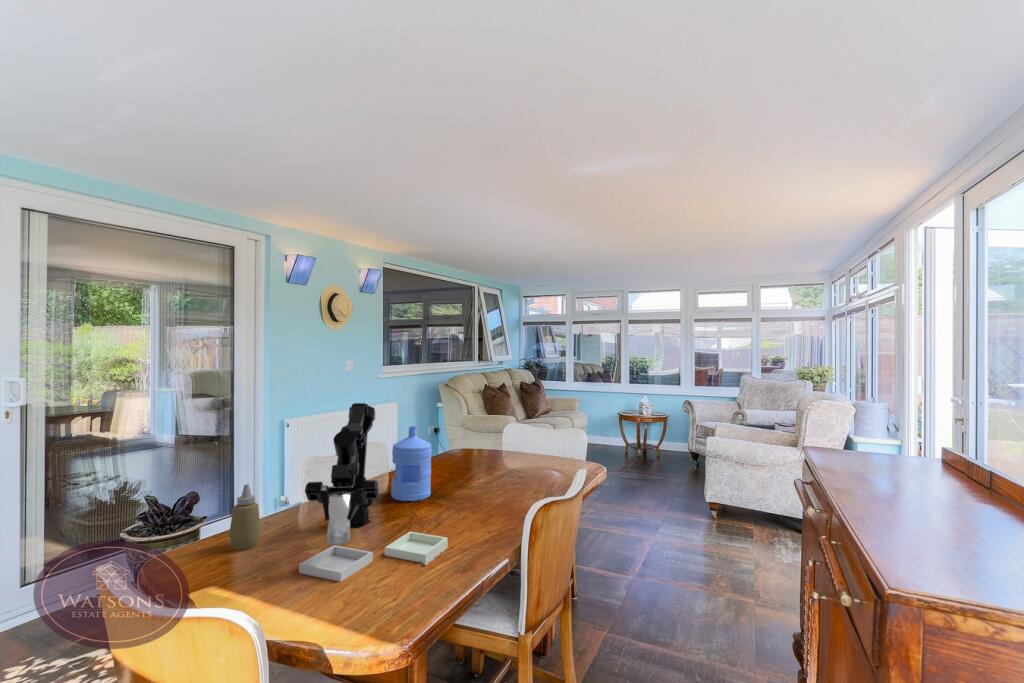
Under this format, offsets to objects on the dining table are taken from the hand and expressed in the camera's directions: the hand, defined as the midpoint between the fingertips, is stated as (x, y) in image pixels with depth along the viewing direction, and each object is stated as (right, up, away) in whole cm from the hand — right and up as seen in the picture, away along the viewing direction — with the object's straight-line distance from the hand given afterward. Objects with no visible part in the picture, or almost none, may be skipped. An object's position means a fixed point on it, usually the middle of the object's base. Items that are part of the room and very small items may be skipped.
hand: (338, 519), depth 123 cm
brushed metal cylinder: (0, -6, +1) cm, 6 cm away
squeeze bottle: (-33, -14, +14) cm, 38 cm away
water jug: (+5, -16, +67) cm, 69 cm away
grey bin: (-1, -13, +1) cm, 13 cm away
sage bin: (+18, -14, +12) cm, 26 cm away
